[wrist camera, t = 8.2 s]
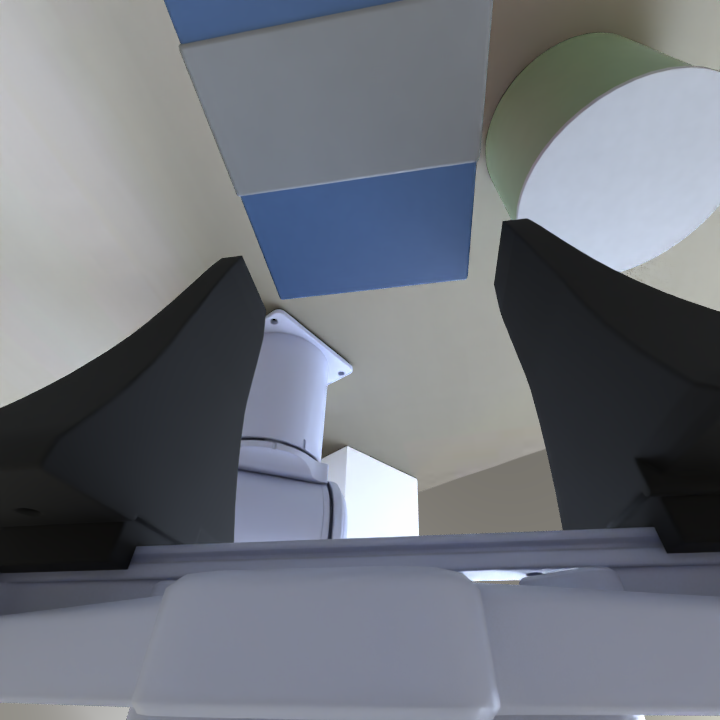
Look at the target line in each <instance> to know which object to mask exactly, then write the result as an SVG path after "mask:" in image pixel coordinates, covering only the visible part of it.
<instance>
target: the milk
mask: <svg viewBox="0 0 720 720" xmlns="http://www.w3.org/2000/svg"><path fill="white" fill-rule="evenodd" d="M321 463H325V464H328V465H329V469H328V481H332V482H335V483H337V485H338V486H339V488H340V490H341V493H342V494H343V496H344V498H345V501H346V506H347V517H348V525H347V538H373V537H400V536H419V526H418V491H417V479H415V478H413V477H411V476H409V475H407V474H405V473H403V472H401V471H399V470H397V469H395V468H392V467H390V466H388V465H386V464H384V463H382V462H380V461H378V460H376V459H374V458H372V457H370V456H367V455H365V454H363V453H361V452H359V451H357V450H355V449H353V448H351V447H349V446H346V447H344V448H342V449H340V450H338V451H336V452H334V453H332V454H330V455H328V456H326V457H324V458H322V459H321Z"/></svg>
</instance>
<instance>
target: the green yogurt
mask: <svg viewBox="0 0 720 720" xmlns="http://www.w3.org/2000/svg"><path fill="white" fill-rule="evenodd" d="M486 164H487V168H488V172H489V175H490V177H491V179H492V182H493V184H494V186H495V188H496V190H497V192H498V194H499V196H500V198H501V200H502V202H503V204H504V206H505V208H506V210H507V212H508V214H509V216H510V218H511V220H517V219H525V218H528V219H530V220H532V221H533V222H535V223H537V224H538V225H540V226H542V227H543V228H545V229H546V230H548V231H550V232H551V233H553V234H554V235H556V236H557V237H559V238H560V239H562V240H564V241H565V242H567V243H568V244H570V245H572V246H573V247H575V248H576V249H578V250H580V251H581V252H583V253H585V254H586V255H588V256H590V257H592V258H593V259H595V260H597V261H599V262H601V263H603V264H604V265H606V266H608V267H610V268H612V269H614V270H616V271H618V272H621V271H624V270H627V269H630V268H633V267H635V266H638V265H640V264H642V263H645V262H647V261H649V260H651V259H653V258H654V257H656V256H658V255H660V254H662V253H663V252H665V251H667V250H668V249H670V248H671V247H673V246H674V245H676V244H677V243H679V242H680V241H681V240H683V239H684V238H685V237H687V236H688V235H689V234H690V233H692V232H693V231H694V230H695V229H696V228H697V227H699V226H700V225H701V224H702V223H703V222H704V221H705V220H706V219H707V218H708V217H709V216H710V215H711V214H712V213H713V212H714V211H715V210H716V208H717V207H718V206H719V205H720V71H718V70H714V69H710V68H706V67H700V66H692V65H690V64H688V63H685V62H683V61H680V60H678V59H676V58H673V57H671V56H668V55H666V54H664V53H661V52H659V51H656V50H654V49H651V48H649V47H647V46H644V45H642V44H639V43H637V42H635V41H632V40H630V39H627V38H625V37H623V36H620V35H616V34H612V33H600V32H599V33H589V34H584V35H580V36H576V37H573V38H571V39H568V40H566V41H563V42H561V43H559V44H557V45H555V46H554V47H552V48H550V49H548V50H547V51H546V52H544V53H543V54H541V55H540V56H538V57H537V58H536V59H535V60H534V61H533V62H531V63H530V64H529V65H528V66H527V67H526V68H525V69H524V70H523V71H522V72H521V73H520V74H519V75H518V76H517V77H516V79H515V80H514V81H513V82H512V84H511V85H510V86H509V88H508V89H507V91H506V92H505V94H504V95H503V97H502V98H501V100H500V102H499V104H498V106H497V108H496V110H495V112H494V115H493V117H492V120H491V123H490V126H489V130H488V134H487V140H486Z"/></svg>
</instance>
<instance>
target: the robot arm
mask: <svg viewBox="0 0 720 720" xmlns="http://www.w3.org/2000/svg"><path fill="white" fill-rule="evenodd" d="M494 286H495V291H496V295H497V300H498V304H499V308H500V312H501V315H502V318H503V321H504V323H505V326H506V328H507V331H508V333H509V336H510V338H511V341H512V343H513V346H514V348H515V350H516V353H517V355H518V358H519V360H520V363H521V365H522V368H523V370H524V373H525V375H526V378H527V381H528V383H529V386H530V389H531V393H532V396H533V400H534V404H535V407H536V411H537V415H538V418H539V422H540V426H541V430H542V434H543V439H544V443H545V447H546V451H547V455H548V459H549V464H550V469H551V473H552V478H553V482H554V487H555V492H556V496H557V502H558V507H559V512H560V517H561V523H562V528H563V530H560V531H534V532H508V533H480V534H456V535H455V534H454V535H427V536H400V537H373V538H347V525H348V517H347V506H346V501H345V498H344V496H343V494H342V493H341V490H340V488H339V486H338V485H337V483H335V482H332V481H328V469H329V465H328V464H325V463H321V453H322V441H323V430H324V418H325V406H326V394H327V385H328V384H330V383H332V382H334V381H336V380H338V379H340V378H342V377H344V376H346V375H348V374H350V373H352V366H351V365H350V364H349V363H348V362H347V361H345V360H344V359H343V358H342V357H341V356H339V355H338V354H337V353H336V352H334V351H333V350H332V349H331V348H329V347H328V346H327V345H326V344H324V343H323V342H322V341H321V340H320V339H318V338H317V337H316V336H315V335H313V334H312V333H311V332H310V331H308V330H307V329H306V328H305V327H303V326H302V325H301V324H300V323H299V322H297V321H296V320H295V319H294V318H292V317H291V316H290V315H289V314H287V313H286V312H285V311H283V310H281V309H276V310H274V311H273V312H271V313H270V314H268V315H267V316H266V309H265V307H264V304H263V302H262V300H261V298H260V295H259V293H258V291H257V289H256V286H255V284H254V282H253V280H252V277H251V275H250V273H249V270H248V268H247V266H246V264H245V261H244V259H243V257H242V256H236V257H229V258H222V259H220V260H219V261H217V262H216V263H215V264H214V265H212V266H211V267H210V268H209V269H208V270H207V271H205V272H204V273H203V274H202V275H201V276H200V277H199V278H198V279H197V280H195V281H194V282H193V283H192V284H191V285H190V286H189V287H188V288H187V289H186V290H185V291H183V292H182V293H181V294H180V295H179V296H178V297H177V298H176V299H175V300H173V301H172V302H171V303H170V304H169V305H168V306H166V307H165V308H164V309H163V310H162V311H160V312H159V313H158V314H157V315H156V316H154V317H153V318H152V319H151V320H150V321H148V322H147V323H146V324H145V325H143V326H142V327H141V328H140V329H138V330H137V331H136V332H134V333H133V334H132V335H130V336H129V337H127V338H126V339H124V340H123V341H122V342H120V343H119V344H117V345H116V346H114V347H113V348H111V349H110V350H108V351H107V352H105V353H104V354H102V355H100V356H99V357H97V358H95V359H94V360H92V361H90V362H89V363H87V364H85V365H84V366H82V367H80V368H79V369H77V370H75V371H74V372H72V373H70V374H69V375H67V376H65V377H63V378H61V379H59V380H57V381H55V382H54V383H52V384H50V385H48V386H46V387H44V388H42V389H40V390H38V391H36V392H34V393H32V394H30V395H28V396H26V397H24V398H22V399H20V400H17V401H15V402H13V403H11V404H9V405H6V406H4V407H2V408H0V703H25V704H55V705H84V706H115V707H130V709H129V712H128V716H127V719H126V720H645V718H644V715H683V716H687V715H689V716H701V715H702V716H720V312H719V311H716V310H713V309H710V308H707V307H704V306H701V305H698V304H695V303H692V302H689V301H686V300H683V299H681V298H678V297H675V296H673V295H670V294H667V293H665V292H662V291H660V290H658V289H655V288H653V287H650V286H648V285H646V284H643V283H641V282H639V281H636V280H634V279H632V278H630V277H628V276H626V275H624V274H622V273H620V272H618V271H616V270H614V269H612V268H610V267H608V266H606V265H604V264H603V263H601V262H599V261H597V260H595V259H593V258H592V257H590V256H588V255H586V254H585V253H583V252H581V251H580V250H578V249H576V248H575V247H573V246H572V245H570V244H568V243H567V242H565V241H564V240H562V239H560V238H559V237H557V236H556V235H554V234H553V233H551V232H550V231H548V230H546V229H545V228H543V227H542V226H540V225H538V224H537V223H535V222H533V221H532V220H530V219H528V218H525V219H517V220H510V221H503V224H502V231H501V238H500V245H499V252H498V260H497V267H496V274H495V281H494ZM272 319H276V320H272ZM340 371H342V372H340ZM492 580H493V581H494V580H521V581H520V582H519V585H509V584H492V583H475V582H472V581H492Z"/></svg>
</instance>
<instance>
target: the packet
mask: <svg viewBox="0 0 720 720" xmlns="http://www.w3.org/2000/svg"><path fill="white" fill-rule="evenodd" d="M164 2H165V5H166V7H167V10H168V12H169V15H170V17H171V20H172V23H173V25H174V28H175V30H176V33H177V35H178V38H179V40H180V43H181V44H180V45H179V49H180V53H181V55H182V58H183V60H184V63H185V65H186V68H187V70H188V73H189V75H190V78H191V80H192V83H193V86H194V88H195V91H196V93H197V96H198V98H199V101H200V103H201V106H202V108H203V111H204V113H205V116H206V118H207V121H208V123H209V126H210V128H211V131H212V133H213V136H214V139H215V141H216V144H217V146H218V149H219V151H220V154H221V156H222V159H223V161H224V164H225V166H226V169H227V171H228V174H229V176H230V179H231V181H232V184H233V186H234V189H235V192H236V194H237V195H238V196H240V197H241V199H242V202H243V204H244V207H245V210H246V212H247V215H248V217H249V220H250V222H251V225H252V227H253V230H254V233H255V235H256V238H257V240H258V243H259V245H260V248H261V251H262V253H263V256H264V258H265V261H266V263H267V266H268V268H269V271H270V274H271V276H272V279H273V281H274V284H275V286H276V289H277V292H278V294H279V297H280V299H282V300H284V299H293V298H302V297H311V296H320V295H329V294H338V293H347V292H356V291H365V290H374V289H383V288H392V287H401V286H410V285H419V284H428V283H437V282H446V281H455V280H464V279H467V276H468V265H469V252H470V240H471V227H472V214H473V201H474V189H475V176H476V163H477V161H478V160H479V158H480V150H481V138H482V126H483V114H484V102H485V91H486V79H487V67H488V55H489V43H490V31H491V19H492V7H493V0H164Z"/></svg>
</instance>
